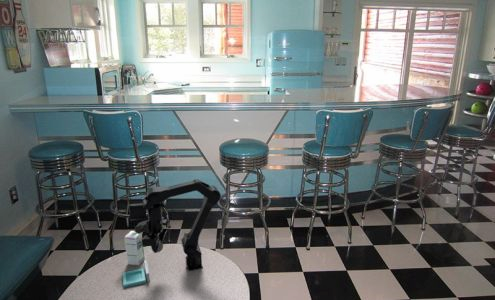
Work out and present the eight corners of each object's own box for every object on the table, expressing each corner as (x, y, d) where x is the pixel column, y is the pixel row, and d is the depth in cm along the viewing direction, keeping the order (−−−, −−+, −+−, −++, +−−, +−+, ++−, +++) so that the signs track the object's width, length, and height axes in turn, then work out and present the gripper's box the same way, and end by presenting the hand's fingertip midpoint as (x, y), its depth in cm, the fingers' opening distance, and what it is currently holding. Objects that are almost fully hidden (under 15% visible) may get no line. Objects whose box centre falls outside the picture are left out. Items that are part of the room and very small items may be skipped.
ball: (164, 248, 154) (164, 238, 153) (161, 254, 150) (160, 244, 148) (153, 248, 155) (153, 238, 153) (150, 254, 150) (149, 244, 149)
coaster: (144, 270, 156) (144, 268, 155) (146, 282, 148) (145, 279, 147) (123, 275, 153) (122, 272, 152) (123, 287, 144) (123, 284, 144)
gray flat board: (147, 267, 158) (146, 259, 157) (149, 281, 149) (149, 273, 147) (144, 267, 158) (144, 259, 157) (146, 281, 148) (146, 273, 147)
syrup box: (138, 265, 159) (136, 237, 156) (127, 264, 161) (124, 236, 157) (144, 258, 165) (142, 231, 161) (133, 257, 166) (130, 230, 162)
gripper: (145, 206, 157) (147, 237, 161) (127, 226, 139) (130, 260, 144) (169, 208, 156) (170, 239, 161) (154, 227, 138) (157, 262, 143)
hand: (157, 249), depth 152 cm, fingers closed on ball, 5 cm apart
